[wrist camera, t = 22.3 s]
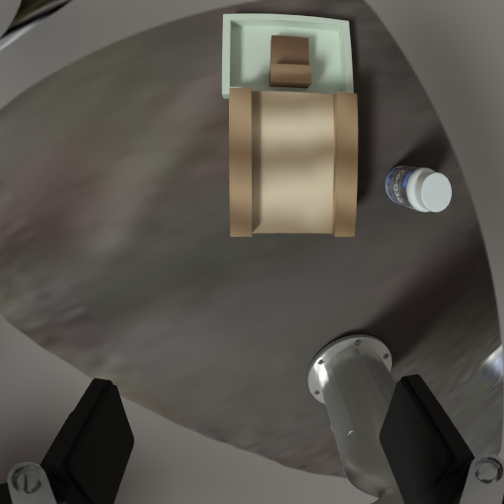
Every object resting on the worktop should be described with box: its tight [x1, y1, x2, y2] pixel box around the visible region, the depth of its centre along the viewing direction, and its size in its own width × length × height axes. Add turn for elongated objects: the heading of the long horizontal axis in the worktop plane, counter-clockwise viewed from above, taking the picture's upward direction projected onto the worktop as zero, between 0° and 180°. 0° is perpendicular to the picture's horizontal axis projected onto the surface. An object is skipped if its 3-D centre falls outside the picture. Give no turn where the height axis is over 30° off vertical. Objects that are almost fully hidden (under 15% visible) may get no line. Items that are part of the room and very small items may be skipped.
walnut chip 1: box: [270, 35, 309, 66], centre depth 30 cm, size 4×4×2 cm
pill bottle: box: [385, 166, 452, 212], centre depth 31 cm, size 5×5×8 cm
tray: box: [222, 14, 354, 99], centre depth 30 cm, size 10×14×2 cm
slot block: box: [229, 87, 358, 237], centre depth 31 cm, size 14×12×6 cm
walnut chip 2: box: [269, 64, 312, 88], centre depth 29 cm, size 4×4×2 cm
